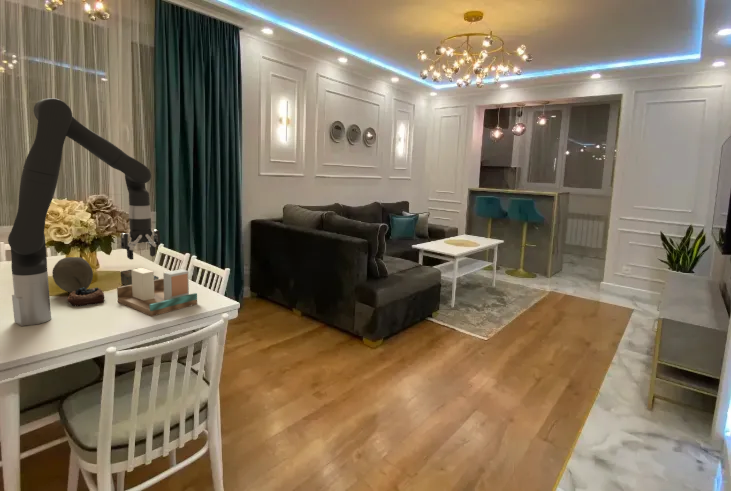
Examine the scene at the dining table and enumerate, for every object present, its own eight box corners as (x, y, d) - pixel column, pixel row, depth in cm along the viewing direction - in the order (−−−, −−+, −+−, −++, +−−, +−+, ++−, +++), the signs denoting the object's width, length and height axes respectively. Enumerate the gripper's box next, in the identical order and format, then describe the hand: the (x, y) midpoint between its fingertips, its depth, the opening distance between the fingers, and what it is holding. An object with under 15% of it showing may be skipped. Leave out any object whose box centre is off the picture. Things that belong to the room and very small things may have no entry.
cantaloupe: (100, 287, 180) (98, 254, 178) (83, 297, 167) (81, 261, 164) (65, 287, 178) (62, 253, 176) (45, 297, 165) (42, 260, 162)
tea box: (155, 297, 166) (154, 271, 164) (143, 300, 162) (142, 273, 160) (143, 293, 170) (142, 267, 168) (132, 296, 166) (131, 269, 164)
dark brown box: (141, 293, 177) (141, 278, 176) (120, 284, 188) (119, 270, 187) (159, 289, 183) (159, 275, 182) (138, 280, 194) (137, 267, 193)
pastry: (107, 303, 163) (106, 289, 162) (69, 308, 155) (68, 293, 154) (101, 296, 171) (101, 282, 170) (66, 300, 163) (65, 286, 162)
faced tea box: (171, 301, 163) (170, 274, 161) (164, 299, 165) (163, 272, 163) (189, 297, 169) (188, 271, 167) (182, 294, 172) (181, 269, 170)
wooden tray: (151, 316, 152) (151, 300, 151) (117, 301, 164) (117, 287, 163) (197, 304, 168) (197, 289, 167) (163, 291, 180) (162, 278, 179)
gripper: (126, 219, 152) (128, 262, 155) (163, 216, 164) (164, 256, 167) (115, 217, 156) (118, 258, 159) (152, 214, 168) (154, 253, 171)
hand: (142, 257), depth 163 cm, fingers open, 8 cm apart
